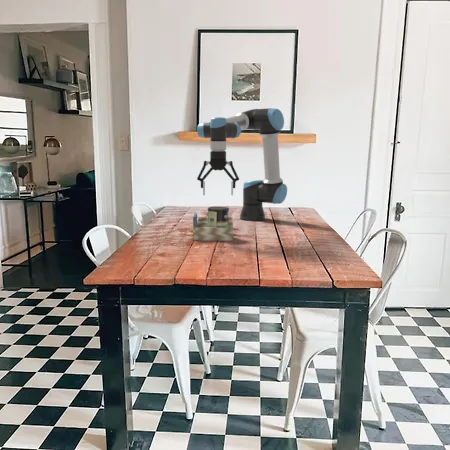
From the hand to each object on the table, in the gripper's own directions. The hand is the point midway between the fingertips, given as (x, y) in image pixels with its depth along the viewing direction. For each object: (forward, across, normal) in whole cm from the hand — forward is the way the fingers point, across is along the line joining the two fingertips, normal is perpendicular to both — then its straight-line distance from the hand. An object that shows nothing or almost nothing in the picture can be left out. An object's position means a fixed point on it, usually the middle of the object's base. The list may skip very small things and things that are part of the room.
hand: (218, 195), depth 227 cm
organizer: (+21, +2, -8) cm, 22 cm away
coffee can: (+21, 0, 0) cm, 21 cm away
